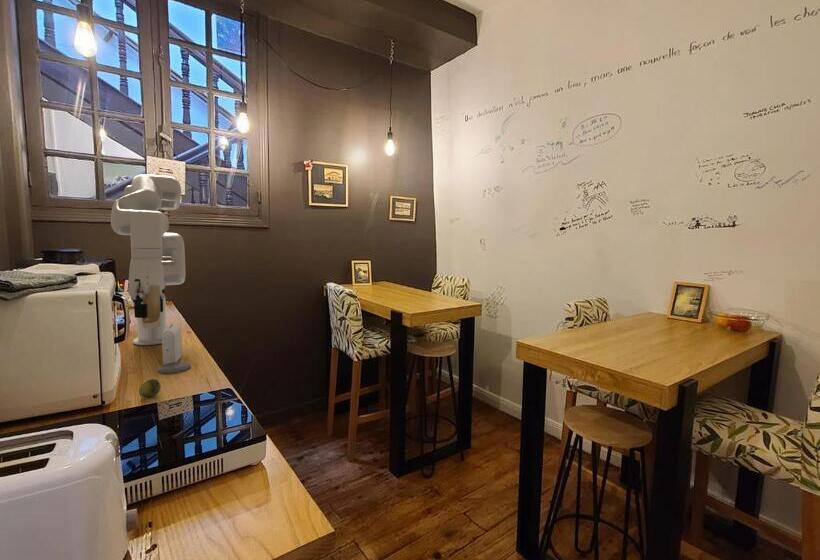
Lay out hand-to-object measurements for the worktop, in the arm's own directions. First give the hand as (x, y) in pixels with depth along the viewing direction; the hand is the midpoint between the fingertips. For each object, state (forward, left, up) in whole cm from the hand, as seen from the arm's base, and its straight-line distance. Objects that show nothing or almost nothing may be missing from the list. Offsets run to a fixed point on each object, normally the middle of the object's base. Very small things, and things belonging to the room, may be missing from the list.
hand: (149, 314), depth 117 cm
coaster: (-9, +2, -20) cm, 22 cm away
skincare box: (0, 0, -4) cm, 4 cm away
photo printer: (-17, -3, -20) cm, 26 cm away
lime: (+13, +7, -20) cm, 25 cm away
